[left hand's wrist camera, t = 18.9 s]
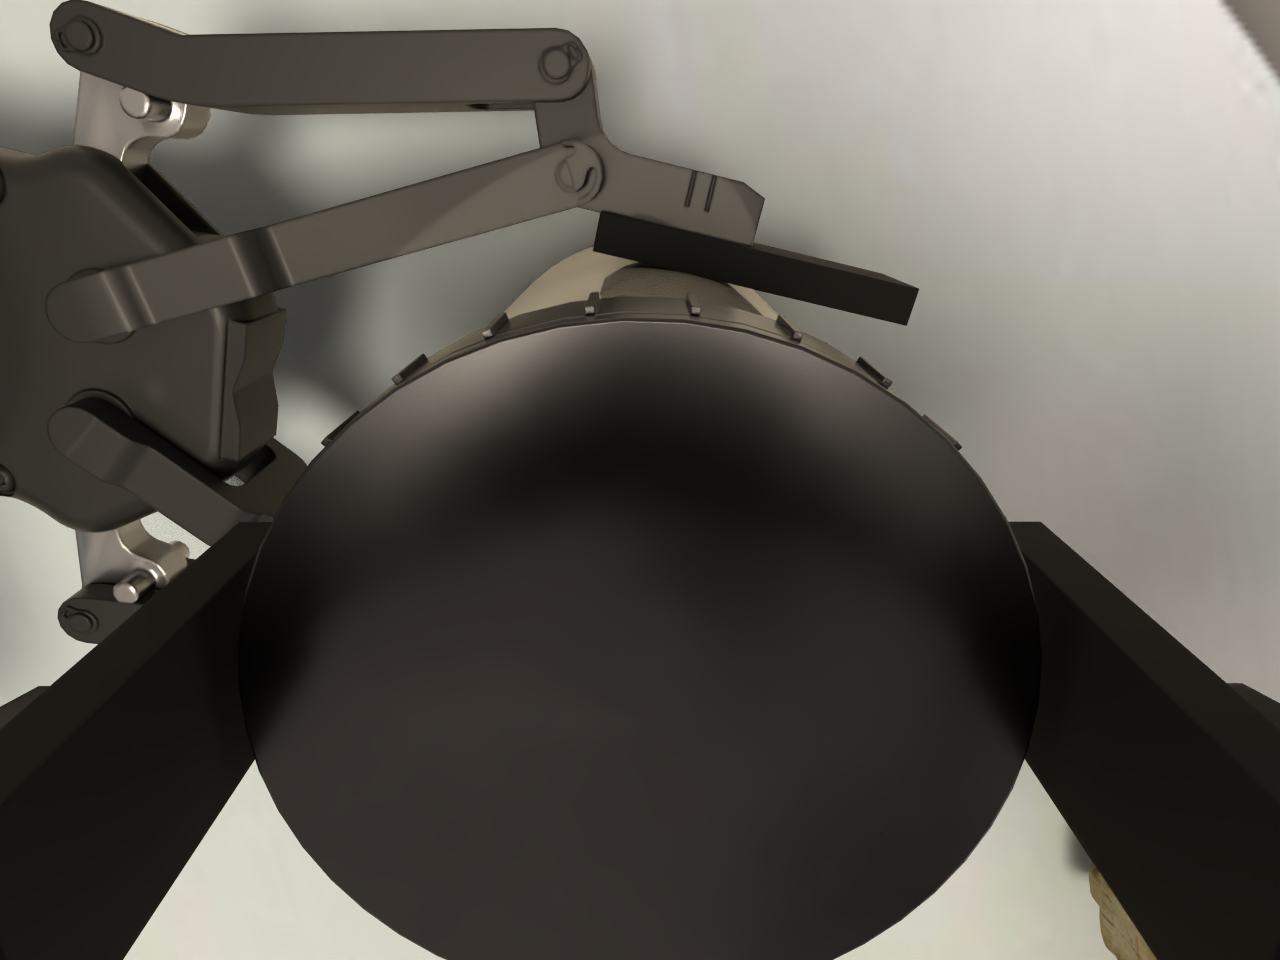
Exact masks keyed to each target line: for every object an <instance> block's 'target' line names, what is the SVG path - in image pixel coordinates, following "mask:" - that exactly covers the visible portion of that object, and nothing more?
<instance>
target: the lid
mask: <svg viewBox="0 0 1280 960" xmlns="http://www.w3.org/2000/svg"><path fill="white" fill-rule="evenodd" d="M392 380H393V382H394V383H395V384H394V385H392V386H391V387H390V388H389V389H387V390H386V391H385V392H384V393H383V394H382V395H380V396H379V397H378V398H377V399H376V400H375V401H373V402H372V403H371V404H370V405H369V406H368V407H366V408H365V409H364V410H363V411H362V412H361V413H360V412H359V411H356V412H355V413H354V414H353V415H352V416H350V417H349V418H348V419H347V420H346V421H344V422H343V423H342V424H341V425H340V426H339V427H337V428H336V429H335V430H334V431H333V432H331V433H330V434H329V435H328V436H327V437H325V439H324V440H323V441H322V442H321V444H322V445H324V446H325V448H324V449H323V450H322V451H321V452H320V453H319V454H318V455H317V456H316V457H315V458H314V459H313V460H312V461H311V462H310V464H309V465H308V467H307V468H306V469H305V471H304V472H303V474H302V475H301V476H300V478H299V479H298V481H297V482H296V483H295V485H294V486H293V488H292V489H291V490H290V492H289V493H288V495H287V496H286V497H285V499H284V500H283V502H282V503H281V505H280V507H279V509H278V510H277V511H276V513H275V515H274V517H273V521H272V523H271V525H270V527H269V529H268V531H267V533H266V535H265V537H264V539H263V541H262V543H261V545H260V547H259V550H258V553H257V556H256V560H255V563H254V566H253V569H252V572H251V575H250V579H249V582H248V585H247V588H246V591H245V596H244V603H243V609H242V616H241V623H240V629H239V636H238V686H239V692H240V698H241V704H242V710H243V716H244V722H245V729H246V732H247V735H248V738H249V741H250V745H251V748H252V751H253V754H254V757H255V760H256V763H257V766H258V769H259V772H260V774H261V776H262V778H263V780H264V782H265V784H266V786H267V789H268V791H269V793H270V795H271V797H272V799H273V801H274V803H275V805H276V807H277V809H278V811H279V812H280V814H281V815H282V817H283V818H284V820H285V821H286V823H287V824H288V826H289V827H290V829H291V830H292V832H293V833H294V835H295V836H296V838H297V839H298V841H299V842H300V844H301V845H302V847H303V848H304V849H305V850H306V852H307V853H308V854H309V855H310V856H311V857H312V858H313V860H314V861H315V862H316V863H317V864H318V865H319V866H320V868H321V869H322V870H323V871H324V872H325V873H326V874H327V876H328V877H329V878H330V879H331V880H332V881H333V882H334V883H335V884H336V885H337V886H339V887H340V888H341V889H342V890H343V891H344V892H345V893H346V894H347V895H349V896H350V897H351V898H352V899H353V900H354V901H355V902H356V903H357V904H358V905H360V906H361V907H362V908H363V909H364V910H366V911H367V912H368V913H370V914H371V915H373V916H374V917H375V918H377V919H378V920H380V921H381V922H382V923H384V924H385V925H387V926H388V927H389V928H391V929H392V930H394V931H395V932H396V933H398V934H399V935H401V936H403V937H405V938H406V939H408V940H410V941H412V942H413V943H415V944H417V945H419V946H421V947H422V948H424V949H426V950H428V951H429V952H431V953H433V954H435V955H437V956H439V957H441V958H443V959H446V960H834V959H836V958H838V957H840V956H842V955H844V954H846V953H848V952H850V951H852V950H854V949H856V948H858V947H860V946H861V945H863V944H865V943H867V942H868V941H870V940H871V939H873V938H874V937H876V936H878V935H879V934H881V933H882V932H884V931H885V930H887V929H888V928H890V927H892V926H893V925H895V924H896V923H898V922H899V921H901V920H902V919H903V918H904V917H906V916H907V915H908V914H909V913H911V912H912V911H913V910H914V909H916V908H917V907H918V906H919V905H920V904H922V903H923V902H924V901H925V900H927V899H928V898H929V897H930V896H931V895H933V894H934V893H935V892H936V891H937V890H938V889H939V888H940V887H941V886H942V885H943V884H944V883H945V882H946V881H947V880H948V879H949V878H950V877H951V876H952V874H953V873H954V872H955V871H956V870H957V869H958V868H959V867H960V866H961V865H962V864H963V863H964V862H965V861H966V860H967V858H968V857H969V856H970V854H971V853H972V852H973V850H974V849H975V848H976V846H977V845H978V844H979V842H980V841H981V840H982V838H983V837H984V836H985V834H986V833H987V832H988V830H989V829H990V828H991V826H992V824H993V823H994V821H995V819H996V817H997V816H998V814H999V812H1000V810H1001V808H1002V807H1003V805H1004V803H1005V801H1006V800H1007V798H1008V796H1009V794H1010V792H1011V791H1012V789H1013V786H1014V784H1015V781H1016V779H1017V776H1018V774H1019V771H1020V769H1021V766H1022V763H1023V761H1024V758H1025V756H1026V753H1027V751H1028V748H1029V744H1030V740H1031V735H1032V731H1033V727H1034V723H1035V718H1036V714H1037V710H1038V705H1039V693H1040V680H1041V667H1042V653H1041V641H1040V628H1039V615H1038V610H1037V606H1036V601H1035V597H1034V593H1033V589H1032V585H1031V581H1030V577H1029V572H1028V568H1027V565H1026V563H1025V561H1024V558H1023V556H1022V553H1021V551H1020V549H1019V546H1018V544H1017V541H1016V539H1015V537H1014V534H1013V532H1012V530H1011V527H1010V525H1009V522H1008V521H1007V518H1006V516H1005V515H1004V514H1003V512H1002V511H1001V509H1000V508H999V506H998V504H997V503H996V501H995V500H994V498H993V496H992V495H991V493H990V491H989V490H988V488H987V487H986V485H985V483H984V482H983V480H982V478H981V477H980V476H979V475H978V474H977V473H976V471H975V470H974V469H973V468H972V467H971V466H970V464H969V463H968V462H967V461H966V460H965V459H964V457H963V456H962V455H961V454H960V453H959V452H958V450H960V449H961V448H962V446H961V445H960V444H959V443H958V442H957V441H956V440H955V439H954V438H953V437H951V436H950V435H949V434H948V433H947V432H945V431H944V430H943V429H942V428H941V427H940V426H938V425H937V424H936V423H935V422H934V421H932V420H931V419H930V418H929V417H928V416H926V415H924V416H921V415H920V414H919V413H918V412H916V411H915V410H914V409H913V408H912V407H911V406H909V405H908V404H907V403H906V402H905V401H904V400H903V399H901V398H900V397H899V396H898V395H897V394H896V393H894V392H893V391H892V390H891V389H890V388H889V387H890V385H891V384H892V381H891V380H889V379H888V378H887V377H886V376H885V375H883V374H882V373H881V372H880V371H879V370H877V369H876V368H875V367H874V366H872V365H871V364H870V363H869V362H868V361H866V360H865V359H864V358H862V357H859V359H858V360H857V361H856V362H855V361H853V360H852V359H850V358H849V357H847V356H846V355H844V354H843V353H841V352H840V351H838V350H836V349H835V348H833V347H832V346H830V345H829V344H827V343H825V342H823V341H821V340H819V339H817V338H815V337H812V336H810V335H808V334H806V333H804V332H802V331H800V330H799V329H798V328H797V327H796V326H795V325H794V324H793V323H792V322H791V321H790V320H789V319H788V318H787V317H785V316H782V315H778V317H777V320H773V319H770V318H767V317H764V316H760V315H757V314H754V313H750V312H747V311H744V310H741V309H737V308H734V307H731V306H725V305H719V304H713V303H707V302H701V301H698V299H697V297H696V295H695V293H689V292H687V293H686V298H685V299H683V298H670V297H636V296H622V297H612V298H602V299H600V297H599V292H591V293H590V295H589V297H588V300H583V301H574V302H569V303H564V304H560V305H556V306H552V307H548V308H544V309H540V310H536V311H531V312H527V313H523V314H520V315H517V316H515V317H512V318H510V319H508V316H507V314H506V313H502V314H500V315H498V316H497V317H496V318H495V319H494V320H493V321H492V322H491V323H490V324H489V325H488V326H487V327H486V328H484V329H481V330H479V331H476V332H474V333H472V334H470V335H468V336H466V337H465V338H463V339H461V340H459V341H457V342H456V343H454V344H452V345H450V346H449V347H447V348H445V349H443V350H441V351H440V352H438V353H436V354H434V355H433V356H431V357H429V358H428V359H427V357H426V356H425V355H424V354H422V355H420V356H419V357H417V358H416V359H415V360H414V361H412V362H411V363H410V364H409V365H408V366H406V367H405V368H404V369H403V370H402V371H400V372H399V373H398V374H397V375H395V376H394V377H393V378H392Z"/></svg>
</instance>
